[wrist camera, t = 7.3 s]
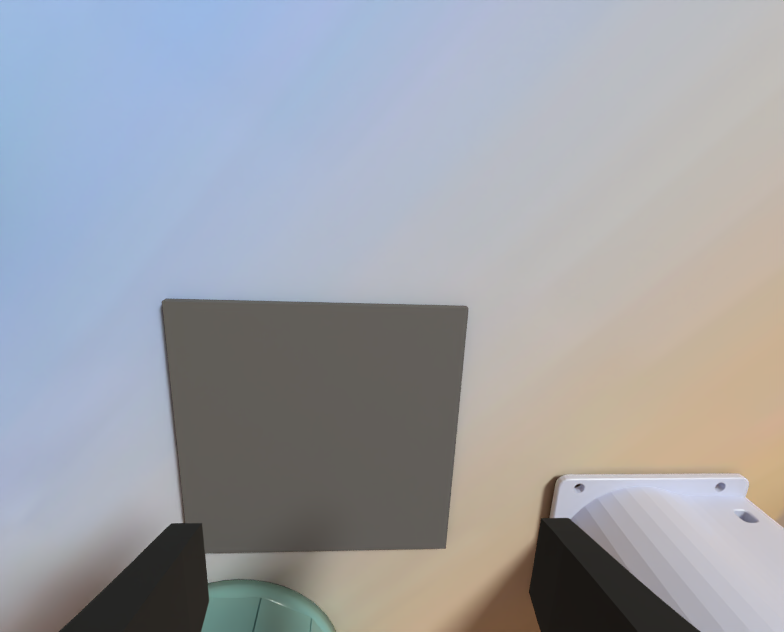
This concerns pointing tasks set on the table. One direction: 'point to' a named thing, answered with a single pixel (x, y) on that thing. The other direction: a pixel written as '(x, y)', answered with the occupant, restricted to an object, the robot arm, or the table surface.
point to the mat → (315, 422)
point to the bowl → (261, 609)
